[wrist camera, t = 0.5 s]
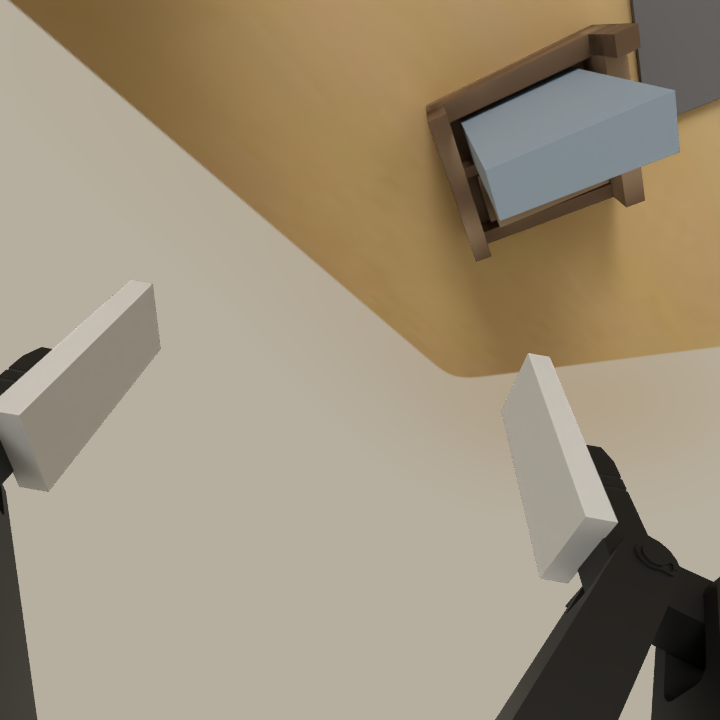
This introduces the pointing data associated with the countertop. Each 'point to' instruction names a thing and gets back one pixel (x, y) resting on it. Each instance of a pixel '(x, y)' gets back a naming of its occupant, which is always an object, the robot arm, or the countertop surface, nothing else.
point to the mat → (680, 48)
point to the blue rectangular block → (568, 136)
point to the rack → (580, 50)
